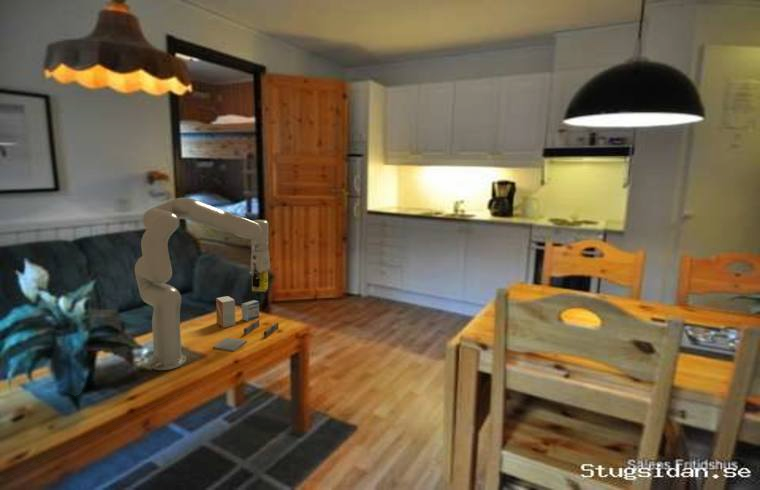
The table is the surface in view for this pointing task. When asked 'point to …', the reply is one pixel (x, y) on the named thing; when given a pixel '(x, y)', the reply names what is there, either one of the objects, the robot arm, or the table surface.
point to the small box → (225, 311)
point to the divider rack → (256, 324)
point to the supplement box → (261, 282)
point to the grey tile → (230, 344)
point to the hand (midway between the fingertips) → (260, 284)
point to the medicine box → (250, 310)
